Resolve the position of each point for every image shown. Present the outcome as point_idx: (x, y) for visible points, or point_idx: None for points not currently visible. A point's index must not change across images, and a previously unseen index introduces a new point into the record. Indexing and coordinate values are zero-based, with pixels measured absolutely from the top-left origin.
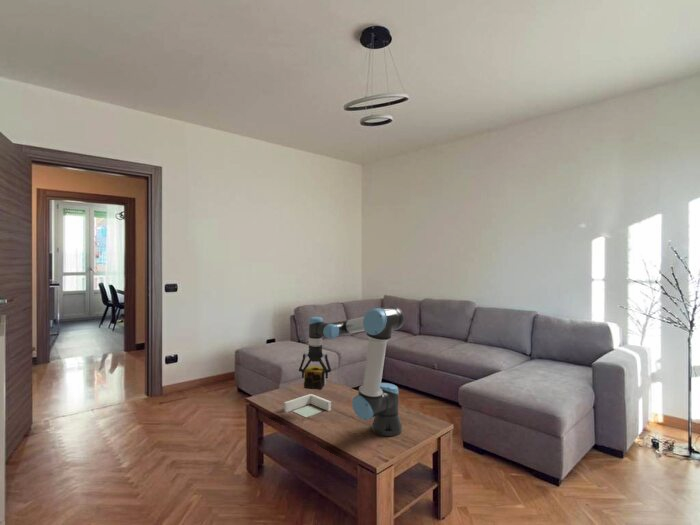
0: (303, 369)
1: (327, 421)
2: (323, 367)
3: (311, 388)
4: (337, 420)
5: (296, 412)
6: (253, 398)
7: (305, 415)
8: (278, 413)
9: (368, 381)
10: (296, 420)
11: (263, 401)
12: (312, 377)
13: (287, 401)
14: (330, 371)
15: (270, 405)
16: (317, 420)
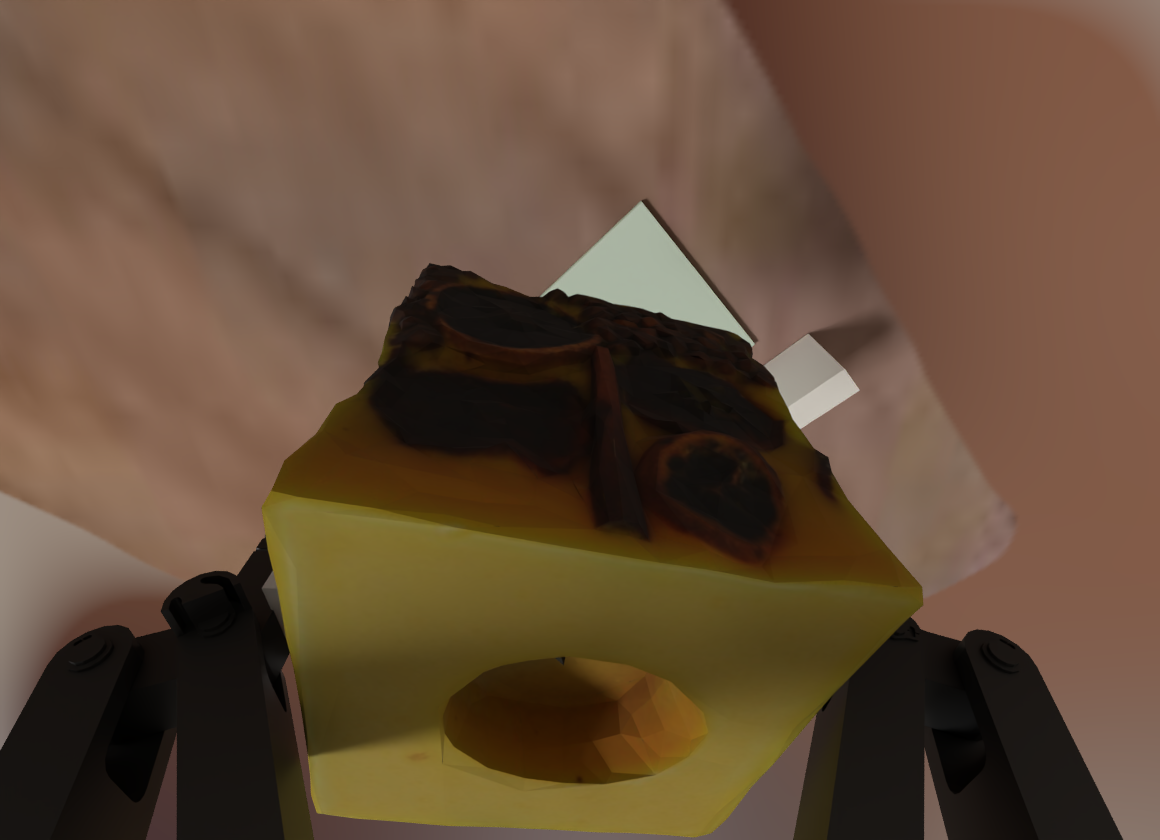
0: (911, 685)
1: (407, 88)
2: (238, 773)
3: (612, 306)
4: (303, 113)
5: (723, 313)
6: (991, 553)
7: (644, 244)
8: (876, 307)
9: None
10: (733, 133)
11: (939, 513)
12: (615, 413)
13: (824, 409)
14: (77, 638)
15: (906, 454)
16: (518, 123)
